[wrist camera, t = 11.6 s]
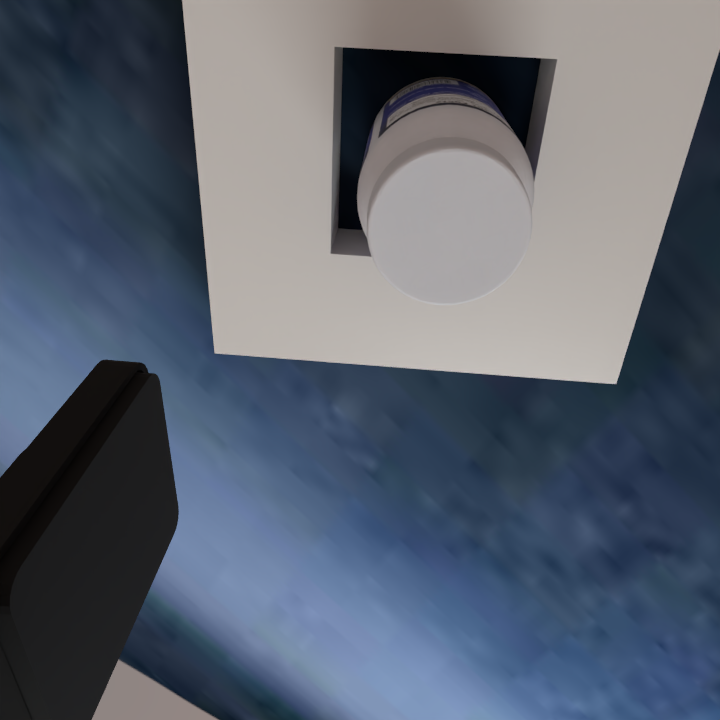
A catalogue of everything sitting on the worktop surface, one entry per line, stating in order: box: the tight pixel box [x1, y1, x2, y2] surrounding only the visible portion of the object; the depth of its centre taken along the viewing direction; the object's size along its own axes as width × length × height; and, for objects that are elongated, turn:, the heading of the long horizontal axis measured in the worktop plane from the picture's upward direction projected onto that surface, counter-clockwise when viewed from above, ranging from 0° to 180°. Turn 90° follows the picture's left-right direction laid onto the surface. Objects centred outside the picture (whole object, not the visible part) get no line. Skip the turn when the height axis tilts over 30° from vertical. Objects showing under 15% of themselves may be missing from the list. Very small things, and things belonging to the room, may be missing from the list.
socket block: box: [182, 0, 720, 384], centre depth 25 cm, size 18×18×3 cm
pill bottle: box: [357, 77, 534, 305], centre depth 22 cm, size 6×6×10 cm
